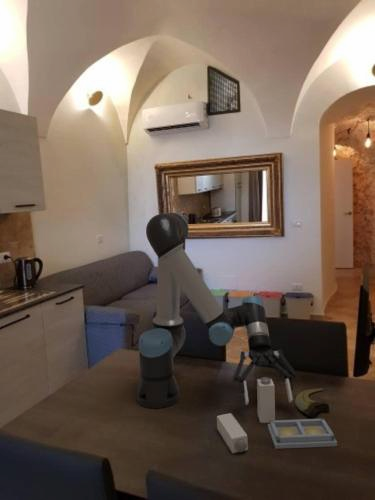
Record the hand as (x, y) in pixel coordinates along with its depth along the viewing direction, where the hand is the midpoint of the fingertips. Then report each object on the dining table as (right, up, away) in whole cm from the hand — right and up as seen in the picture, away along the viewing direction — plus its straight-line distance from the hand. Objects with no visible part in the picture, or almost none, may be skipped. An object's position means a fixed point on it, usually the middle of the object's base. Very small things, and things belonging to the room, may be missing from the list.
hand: (269, 402), depth 120 cm
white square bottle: (-1, -6, +2) cm, 6 cm away
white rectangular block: (-12, -8, -8) cm, 17 cm away
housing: (+8, -7, -8) cm, 13 cm away
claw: (+17, -5, +10) cm, 20 cm away
